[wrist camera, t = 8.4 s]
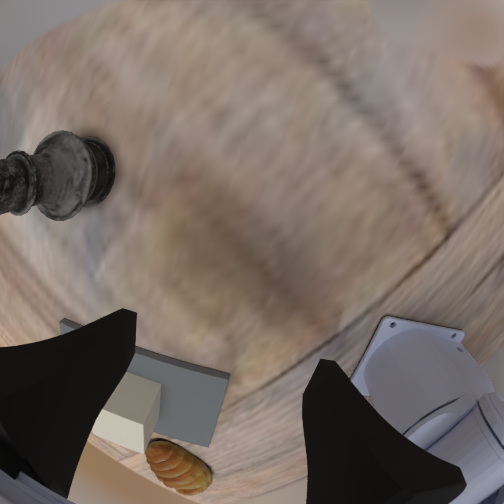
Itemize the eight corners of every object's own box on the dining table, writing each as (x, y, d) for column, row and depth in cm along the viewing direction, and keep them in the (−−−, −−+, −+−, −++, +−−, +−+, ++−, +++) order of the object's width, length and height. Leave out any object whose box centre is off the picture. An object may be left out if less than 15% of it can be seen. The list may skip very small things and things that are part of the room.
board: (229, 373, 23) (228, 379, 22) (209, 442, 26) (208, 447, 25) (63, 318, 23) (59, 322, 22) (76, 394, 26) (72, 399, 25)
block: (161, 383, 23) (143, 424, 18) (159, 416, 24) (144, 454, 20) (110, 365, 23) (85, 401, 18) (113, 399, 24) (93, 434, 20)
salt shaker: (115, 216, 19) (-12, 277, 8) (56, 205, 19) (-63, 250, 8) (123, 133, 18) (-15, 125, 6) (62, 132, 18) (-65, 135, 6)
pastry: (134, 438, 28) (125, 461, 24) (179, 433, 27) (171, 460, 23) (177, 476, 30) (171, 497, 26) (220, 473, 29) (216, 496, 25)
